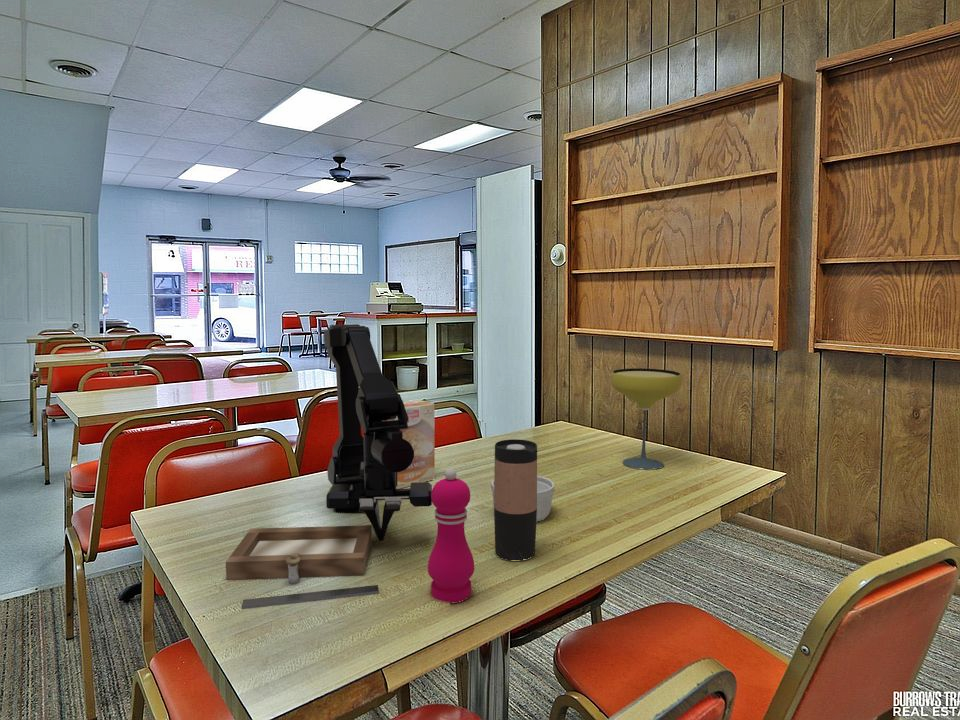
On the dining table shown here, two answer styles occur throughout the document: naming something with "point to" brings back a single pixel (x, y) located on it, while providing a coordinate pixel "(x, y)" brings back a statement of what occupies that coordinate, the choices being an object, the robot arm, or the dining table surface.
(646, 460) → the cocktail glass
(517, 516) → the travel mug
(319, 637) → the dining table surface
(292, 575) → the screw post
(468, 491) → the pepper mill
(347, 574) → the picture frame
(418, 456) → the coffeecake box
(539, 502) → the ramekin
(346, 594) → the strip
